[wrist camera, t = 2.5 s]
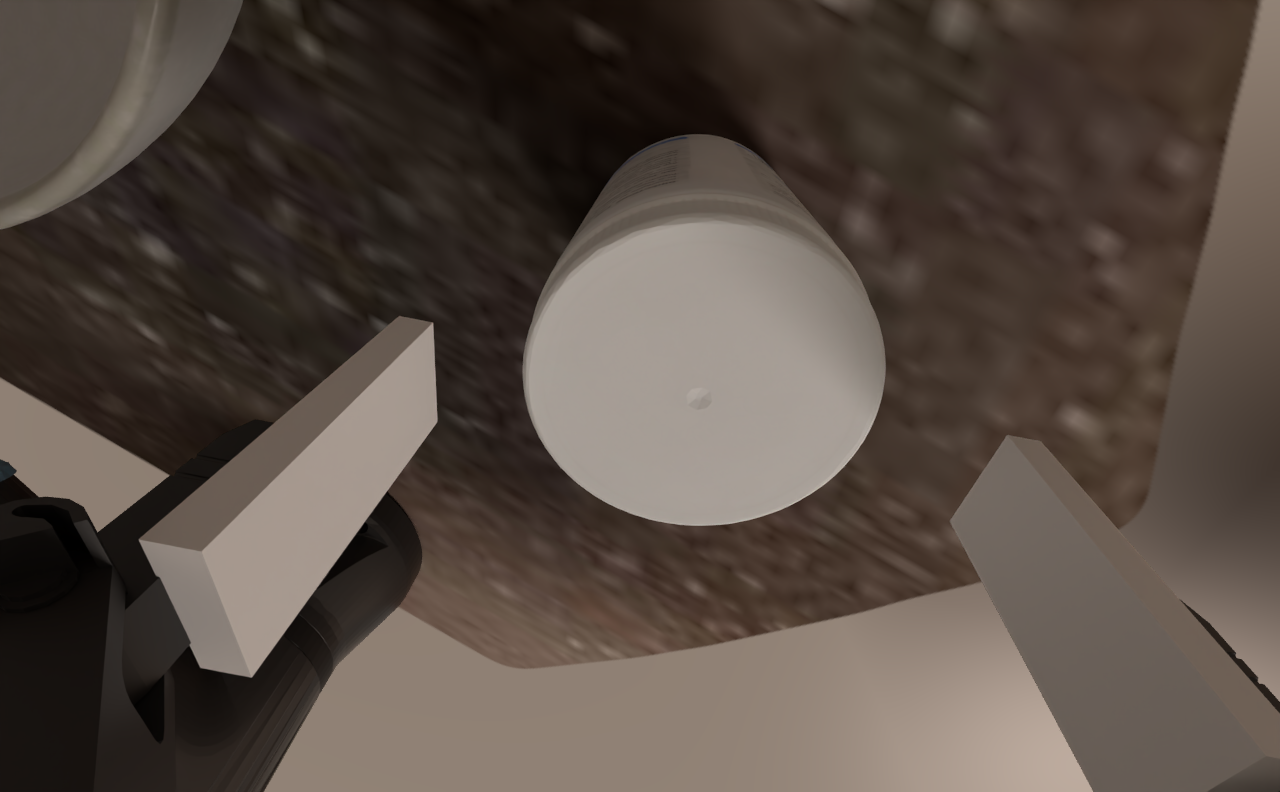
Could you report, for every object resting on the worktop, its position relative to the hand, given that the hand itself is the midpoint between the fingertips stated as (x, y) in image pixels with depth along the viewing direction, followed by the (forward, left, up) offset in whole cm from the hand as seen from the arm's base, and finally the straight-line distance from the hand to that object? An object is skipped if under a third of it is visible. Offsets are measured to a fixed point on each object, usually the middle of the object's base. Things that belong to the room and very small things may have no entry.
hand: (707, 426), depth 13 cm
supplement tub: (0, 0, -16) cm, 16 cm away
